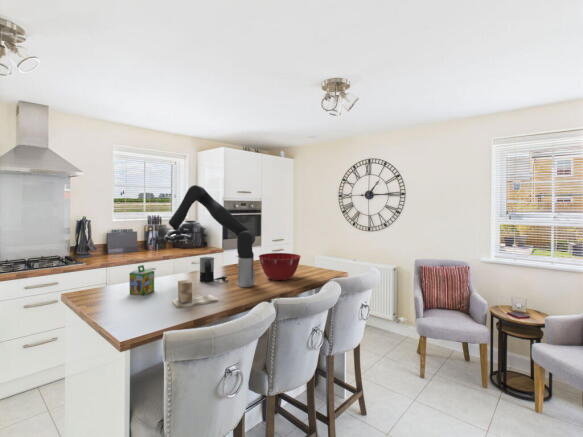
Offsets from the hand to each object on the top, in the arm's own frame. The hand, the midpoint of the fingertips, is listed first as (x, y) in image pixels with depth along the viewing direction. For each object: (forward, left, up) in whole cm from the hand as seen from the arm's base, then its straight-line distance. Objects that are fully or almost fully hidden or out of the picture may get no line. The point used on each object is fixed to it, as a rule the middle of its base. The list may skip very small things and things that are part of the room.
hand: (182, 239), depth 164 cm
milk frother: (-25, -20, -30) cm, 44 cm away
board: (-2, +16, -30) cm, 34 cm away
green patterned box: (+17, -15, -30) cm, 38 cm away
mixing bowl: (-66, -5, -30) cm, 73 cm away
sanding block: (+3, +16, -29) cm, 33 cm away
